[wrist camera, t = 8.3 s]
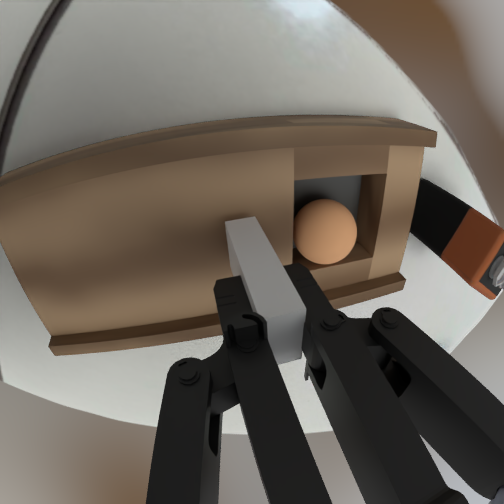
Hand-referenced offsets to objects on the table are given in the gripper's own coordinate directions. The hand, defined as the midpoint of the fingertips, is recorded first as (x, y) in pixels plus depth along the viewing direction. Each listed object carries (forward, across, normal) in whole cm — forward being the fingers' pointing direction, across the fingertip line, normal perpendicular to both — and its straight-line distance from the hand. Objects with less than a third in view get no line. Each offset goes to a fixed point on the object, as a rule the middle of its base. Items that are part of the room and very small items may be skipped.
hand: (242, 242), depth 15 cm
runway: (+4, -1, 0) cm, 4 cm away
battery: (+4, +17, -3) cm, 18 cm away
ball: (+2, +5, -1) cm, 6 cm away
